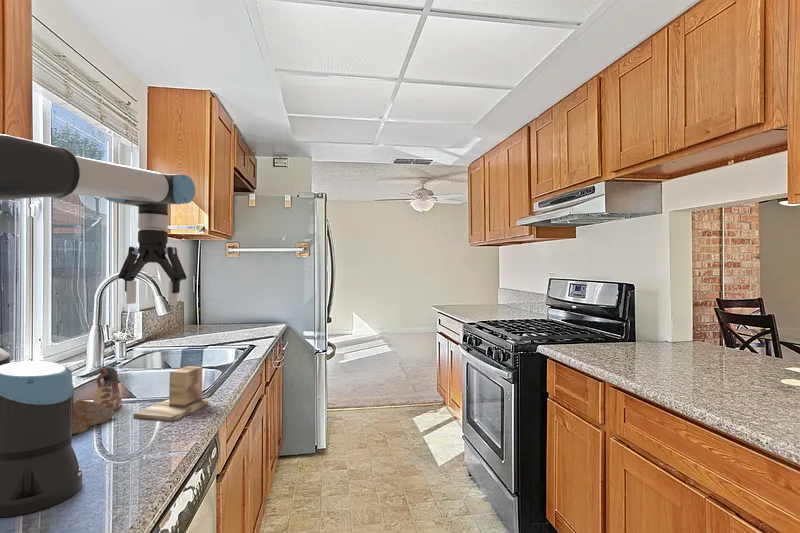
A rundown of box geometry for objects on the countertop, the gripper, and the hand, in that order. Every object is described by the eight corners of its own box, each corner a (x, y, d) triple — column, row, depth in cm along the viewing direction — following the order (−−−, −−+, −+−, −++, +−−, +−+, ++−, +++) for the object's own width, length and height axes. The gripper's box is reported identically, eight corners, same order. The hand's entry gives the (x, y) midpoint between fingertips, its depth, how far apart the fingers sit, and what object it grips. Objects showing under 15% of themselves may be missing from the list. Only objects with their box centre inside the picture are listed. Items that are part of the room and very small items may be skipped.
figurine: (126, 406, 135) (127, 365, 135) (100, 412, 129) (100, 370, 129) (114, 402, 139) (115, 362, 139) (88, 407, 133) (89, 366, 133)
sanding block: (184, 407, 130) (185, 372, 130) (169, 406, 131) (169, 371, 131) (201, 399, 138) (202, 367, 138) (187, 398, 139) (187, 366, 139)
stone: (64, 434, 107) (66, 392, 111) (31, 445, 108) (33, 402, 112) (120, 435, 123) (119, 398, 127) (90, 444, 124) (90, 407, 128)
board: (172, 421, 122) (172, 416, 122) (133, 417, 125) (133, 413, 125) (208, 404, 138) (208, 400, 138) (173, 401, 140) (173, 397, 140)
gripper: (200, 231, 131) (199, 304, 131) (125, 231, 136) (124, 302, 136) (183, 228, 124) (181, 306, 124) (104, 229, 129) (103, 303, 129)
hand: (151, 304), depth 130 cm, fingers open, 13 cm apart
